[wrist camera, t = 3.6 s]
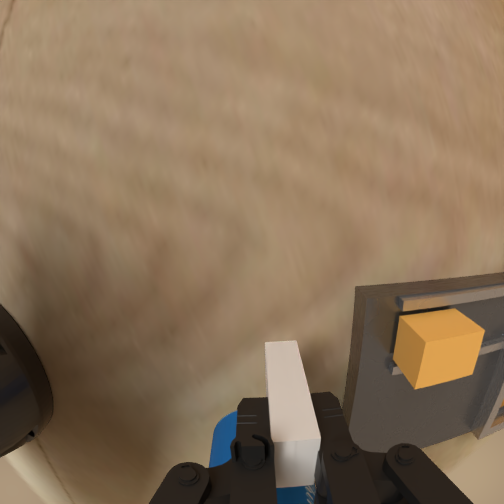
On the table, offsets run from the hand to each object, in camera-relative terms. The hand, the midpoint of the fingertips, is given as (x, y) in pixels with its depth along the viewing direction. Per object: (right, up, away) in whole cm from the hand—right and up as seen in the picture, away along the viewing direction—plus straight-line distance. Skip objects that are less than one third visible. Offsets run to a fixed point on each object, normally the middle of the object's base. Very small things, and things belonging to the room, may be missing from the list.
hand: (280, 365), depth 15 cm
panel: (+16, -3, +5) cm, 17 cm away
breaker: (+9, +1, +1) cm, 9 cm away
